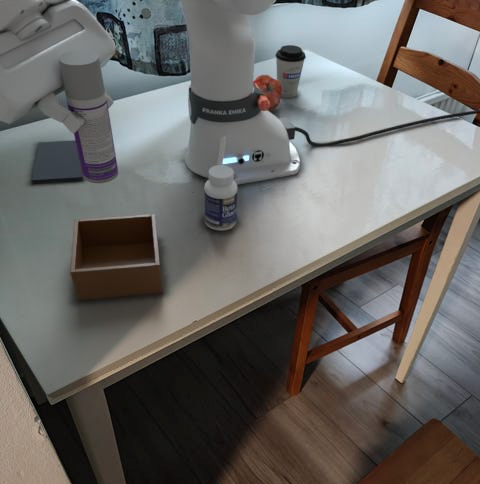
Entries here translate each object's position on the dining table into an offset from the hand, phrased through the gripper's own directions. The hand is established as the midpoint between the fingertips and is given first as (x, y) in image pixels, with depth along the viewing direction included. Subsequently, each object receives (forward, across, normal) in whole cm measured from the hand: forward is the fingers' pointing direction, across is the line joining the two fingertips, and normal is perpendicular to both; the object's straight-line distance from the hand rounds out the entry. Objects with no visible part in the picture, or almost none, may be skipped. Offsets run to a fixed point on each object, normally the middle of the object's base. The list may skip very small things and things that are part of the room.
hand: (94, 117), depth 65 cm
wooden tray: (+17, -2, +16) cm, 23 cm away
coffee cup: (+18, +70, +16) cm, 74 cm away
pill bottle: (+23, +16, +10) cm, 30 cm away
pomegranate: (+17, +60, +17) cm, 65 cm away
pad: (-2, +20, +35) cm, 40 cm away
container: (+5, 0, +6) cm, 8 cm away
